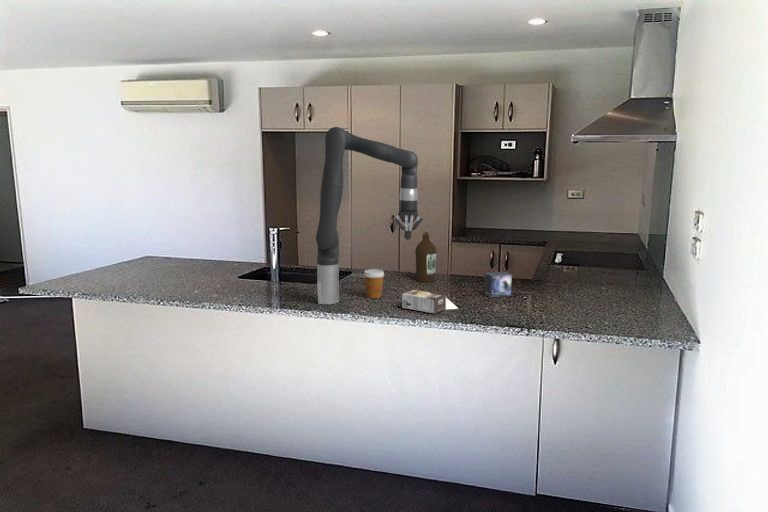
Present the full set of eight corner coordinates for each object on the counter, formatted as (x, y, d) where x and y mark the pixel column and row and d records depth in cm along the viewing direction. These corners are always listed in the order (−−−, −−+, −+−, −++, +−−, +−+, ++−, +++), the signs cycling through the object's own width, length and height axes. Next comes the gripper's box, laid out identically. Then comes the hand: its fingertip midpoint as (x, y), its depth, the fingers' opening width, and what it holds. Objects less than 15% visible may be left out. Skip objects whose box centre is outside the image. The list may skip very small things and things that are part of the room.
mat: (420, 310, 242) (420, 309, 242) (411, 299, 259) (411, 299, 259) (457, 308, 244) (457, 307, 244) (446, 298, 262) (446, 297, 262)
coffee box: (413, 289, 250) (446, 294, 241) (413, 303, 251) (446, 309, 242) (401, 293, 243) (435, 299, 234) (401, 308, 244) (435, 314, 235)
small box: (490, 298, 261) (491, 275, 260) (484, 295, 268) (484, 272, 266) (511, 296, 264) (512, 274, 262) (505, 293, 270) (505, 271, 269)
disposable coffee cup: (360, 295, 267) (360, 270, 265) (380, 293, 270) (380, 268, 268) (367, 300, 258) (367, 274, 256) (387, 298, 262) (387, 272, 259)
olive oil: (410, 280, 297) (411, 232, 292) (424, 277, 304) (425, 230, 300) (426, 284, 289) (426, 234, 285) (440, 280, 297) (441, 232, 292)
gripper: (394, 199, 242) (394, 241, 245) (425, 199, 244) (424, 240, 247) (391, 198, 249) (391, 238, 252) (421, 198, 251) (420, 238, 254)
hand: (407, 239), depth 249 cm, fingers closed
